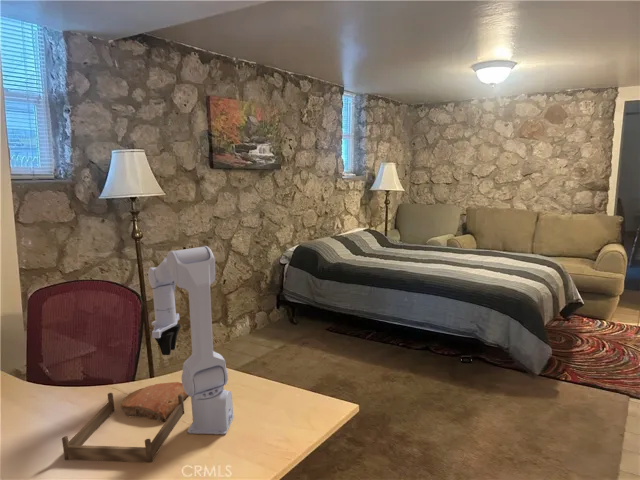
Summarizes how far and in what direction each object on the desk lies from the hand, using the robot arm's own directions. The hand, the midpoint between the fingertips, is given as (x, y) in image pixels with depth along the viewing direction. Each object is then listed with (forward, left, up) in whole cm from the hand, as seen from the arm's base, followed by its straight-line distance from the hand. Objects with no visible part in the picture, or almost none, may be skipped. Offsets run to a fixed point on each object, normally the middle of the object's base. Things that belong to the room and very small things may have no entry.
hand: (168, 352), depth 134 cm
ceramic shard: (-1, +13, -10) cm, 16 cm away
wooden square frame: (0, +26, -9) cm, 27 cm away
